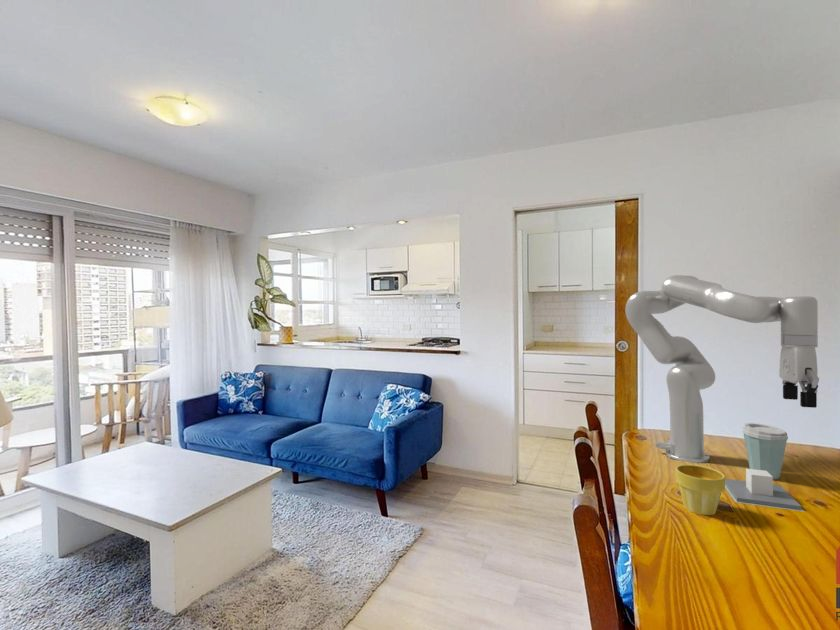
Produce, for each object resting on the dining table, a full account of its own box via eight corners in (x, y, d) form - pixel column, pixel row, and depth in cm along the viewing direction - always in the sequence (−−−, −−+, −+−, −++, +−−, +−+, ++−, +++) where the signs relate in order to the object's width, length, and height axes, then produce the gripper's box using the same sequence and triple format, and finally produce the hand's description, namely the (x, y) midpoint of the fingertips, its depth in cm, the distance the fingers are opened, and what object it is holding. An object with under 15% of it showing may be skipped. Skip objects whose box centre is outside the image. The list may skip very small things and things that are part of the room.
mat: (735, 503, 107) (735, 502, 107) (720, 482, 120) (720, 480, 120) (805, 513, 101) (804, 511, 101) (781, 489, 114) (781, 488, 114)
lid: (737, 501, 107) (736, 478, 107) (723, 481, 119) (722, 461, 119) (801, 510, 102) (801, 486, 102) (780, 488, 114) (780, 467, 114)
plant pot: (717, 503, 107) (716, 466, 107) (732, 523, 97) (732, 482, 97) (671, 498, 110) (670, 462, 110) (682, 516, 101) (681, 477, 101)
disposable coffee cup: (781, 472, 125) (780, 423, 125) (795, 487, 115) (795, 433, 115) (738, 467, 130) (737, 420, 130) (748, 481, 120) (747, 429, 120)
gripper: (768, 338, 123) (768, 395, 123) (797, 343, 107) (797, 409, 107) (799, 338, 121) (800, 397, 121) (834, 344, 104) (835, 411, 105)
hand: (799, 402), depth 114 cm, fingers open, 9 cm apart
